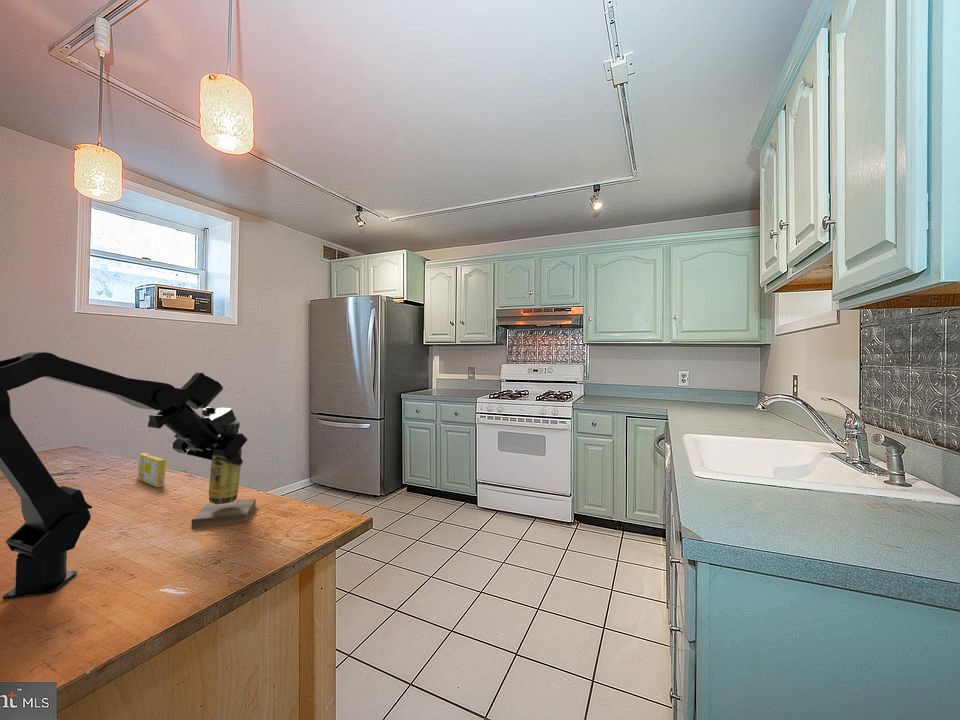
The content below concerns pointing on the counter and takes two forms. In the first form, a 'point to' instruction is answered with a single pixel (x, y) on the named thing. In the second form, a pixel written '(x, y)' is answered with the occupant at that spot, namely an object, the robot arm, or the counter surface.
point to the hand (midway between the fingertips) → (232, 462)
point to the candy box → (151, 469)
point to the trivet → (224, 513)
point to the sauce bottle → (224, 474)
